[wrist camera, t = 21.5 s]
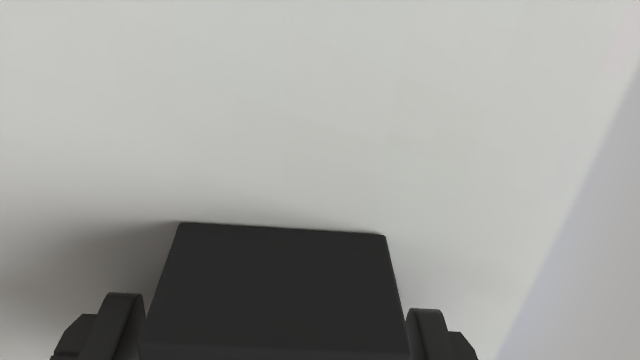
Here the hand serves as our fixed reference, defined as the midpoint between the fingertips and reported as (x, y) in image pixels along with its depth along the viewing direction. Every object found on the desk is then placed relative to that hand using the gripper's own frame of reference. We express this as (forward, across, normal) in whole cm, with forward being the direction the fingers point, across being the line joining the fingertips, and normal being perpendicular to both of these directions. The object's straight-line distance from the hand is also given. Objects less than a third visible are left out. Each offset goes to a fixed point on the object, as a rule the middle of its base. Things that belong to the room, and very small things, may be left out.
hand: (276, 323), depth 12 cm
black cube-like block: (+1, 0, 0) cm, 1 cm away
